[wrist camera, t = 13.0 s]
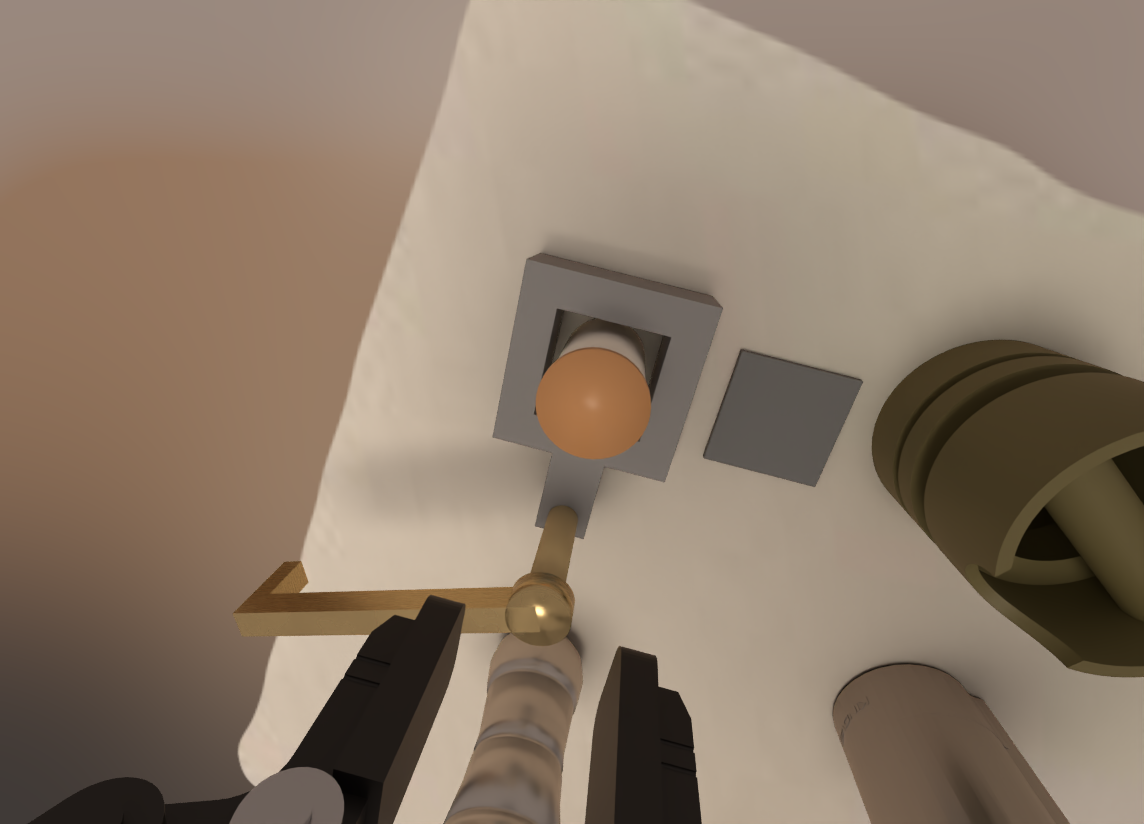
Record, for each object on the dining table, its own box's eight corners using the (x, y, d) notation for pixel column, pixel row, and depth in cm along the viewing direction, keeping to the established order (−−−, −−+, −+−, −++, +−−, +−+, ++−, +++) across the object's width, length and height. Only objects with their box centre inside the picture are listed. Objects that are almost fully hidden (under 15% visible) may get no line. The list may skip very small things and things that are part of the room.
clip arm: (280, 549, 30) (227, 599, 26) (576, 537, 27) (566, 591, 23) (296, 594, 31) (247, 649, 27) (583, 586, 28) (575, 646, 24)
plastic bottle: (509, 601, 39) (392, 952, 21) (597, 629, 39) (559, 1005, 21) (490, 664, 42) (370, 1029, 23) (573, 690, 42) (520, 1077, 23)
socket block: (712, 296, 30) (748, 338, 20) (640, 518, 36) (640, 636, 26) (540, 253, 30) (492, 273, 21) (495, 480, 36) (440, 582, 26)
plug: (658, 326, 31) (665, 367, 23) (634, 408, 33) (633, 471, 25) (572, 304, 31) (548, 337, 23) (553, 386, 33) (525, 443, 25)
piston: (1082, 717, 23) (937, 539, 21) (937, 551, 34) (833, 423, 32) (1407, 584, 19) (1271, 352, 17) (1125, 447, 30) (1023, 296, 28)
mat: (860, 379, 31) (863, 381, 30) (812, 484, 33) (814, 486, 33) (741, 349, 31) (742, 351, 31) (703, 455, 34) (703, 458, 33)
